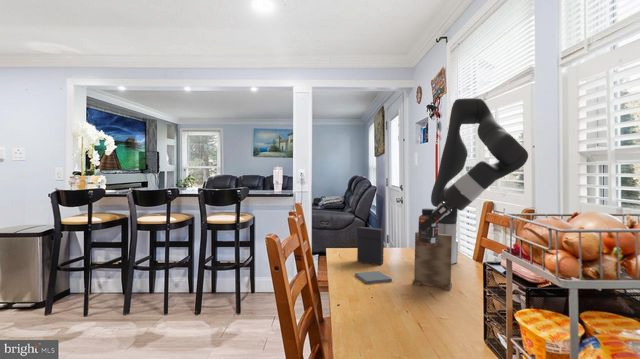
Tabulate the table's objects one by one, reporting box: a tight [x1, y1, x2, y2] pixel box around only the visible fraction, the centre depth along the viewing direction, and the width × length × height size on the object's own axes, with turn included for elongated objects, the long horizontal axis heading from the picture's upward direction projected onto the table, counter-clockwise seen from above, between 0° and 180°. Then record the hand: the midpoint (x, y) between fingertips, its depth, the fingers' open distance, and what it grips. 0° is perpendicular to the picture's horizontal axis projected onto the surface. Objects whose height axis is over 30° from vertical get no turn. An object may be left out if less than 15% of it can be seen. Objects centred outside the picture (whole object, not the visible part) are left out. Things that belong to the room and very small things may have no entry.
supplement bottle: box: [417, 208, 438, 246], centre depth 107 cm, size 6×6×11 cm
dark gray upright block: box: [356, 226, 385, 266], centre depth 146 cm, size 11×4×15 cm, turn 58°
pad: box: [354, 270, 393, 285], centre depth 125 cm, size 10×10×1 cm
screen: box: [412, 231, 453, 291], centre depth 118 cm, size 12×5×18 cm, turn 63°
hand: (422, 227), depth 108 cm, fingers closed on supplement bottle, 6 cm apart
